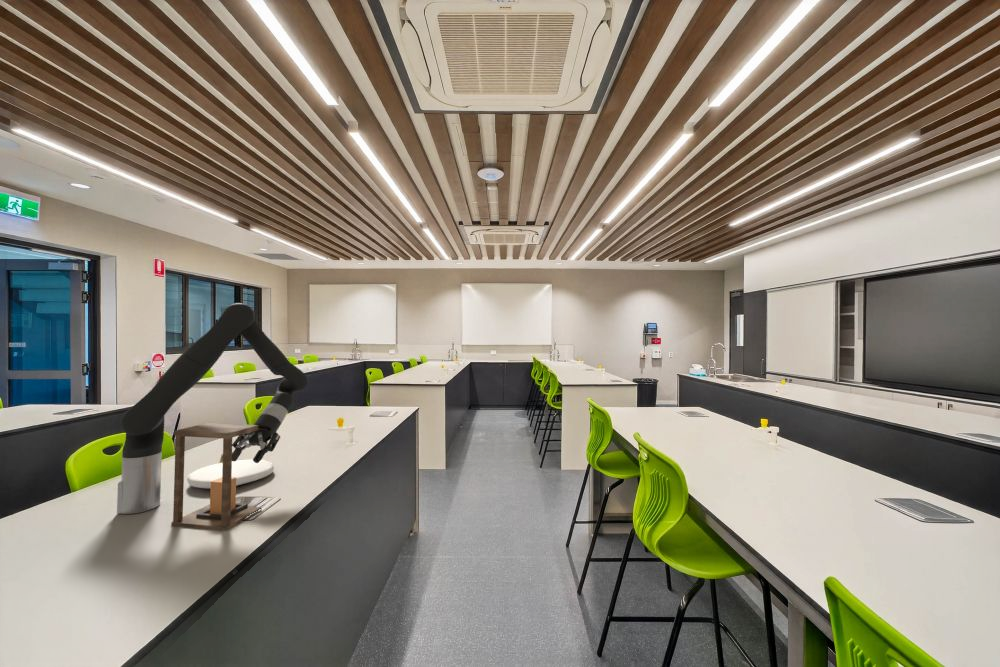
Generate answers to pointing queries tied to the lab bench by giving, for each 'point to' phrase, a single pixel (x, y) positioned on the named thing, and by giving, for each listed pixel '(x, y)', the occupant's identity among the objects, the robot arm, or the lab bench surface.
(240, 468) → the plate
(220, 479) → the terracotta block
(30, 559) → the lab bench surface
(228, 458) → the walnut shelf
